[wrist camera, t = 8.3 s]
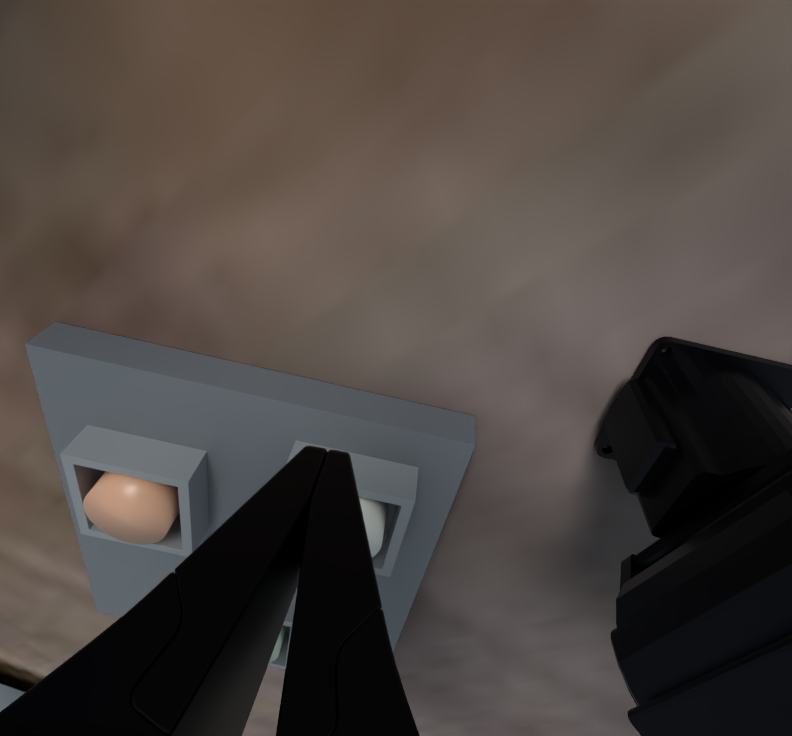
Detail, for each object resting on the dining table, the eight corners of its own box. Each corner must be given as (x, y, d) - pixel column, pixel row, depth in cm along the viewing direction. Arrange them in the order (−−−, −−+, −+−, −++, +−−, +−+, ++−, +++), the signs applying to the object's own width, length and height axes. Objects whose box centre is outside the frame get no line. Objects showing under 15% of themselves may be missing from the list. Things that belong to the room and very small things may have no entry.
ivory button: (394, 483, 23) (389, 518, 22) (379, 536, 26) (374, 571, 24) (310, 464, 23) (299, 498, 22) (302, 519, 26) (291, 553, 24)
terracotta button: (184, 467, 24) (164, 498, 23) (188, 519, 27) (169, 551, 25) (102, 448, 24) (76, 479, 23) (113, 502, 26) (90, 534, 25)
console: (474, 415, 24) (476, 478, 20) (388, 643, 36) (381, 705, 33) (55, 321, 23) (-12, 369, 20) (114, 585, 36) (79, 641, 32)
